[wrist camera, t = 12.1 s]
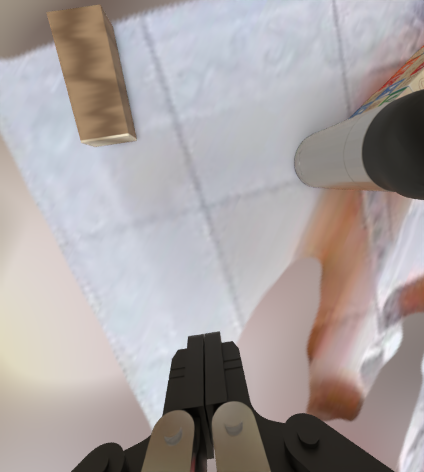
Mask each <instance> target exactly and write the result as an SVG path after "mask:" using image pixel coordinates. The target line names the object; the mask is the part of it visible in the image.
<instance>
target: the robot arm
mask: <svg viewBox="0 0 424 472" xmlns="http://www.w3.org/2000/svg"><path fill="white" fill-rule="evenodd" d="M295 170H296V173H297V175H298V177H299V178H300V180H301V181H302V182H304V183H305V184H307V185H308V186H311V187H318V188H332V189H349V190H367V191H386V192H397V193H398V194H400V195H402V196H405V197H408V198H413V199H419V200H424V89H422V90H419V91H415V92H412V93H410V94H408V95H405V96H403V97H400V98H398V99H396V100H393V101H391V102H388V103H386V104H384V105H381V106H379V107H377V108H374V109H372V110H370V111H367V112H365V113H362V114H360V115H358V116H355V117H353V118H350V119H348V120H346V121H343V122H341V123H339V124H336V125H334V126H331V127H329V128H326V129H324V130H322V131H319V132H317V133H314V134H312V135H310V136H309V137H307V138H306V139H305V140H304V141H303V142H302V143H301V145H300V146H299V148H298V150H297V152H296V155H295ZM213 445H214V446H213ZM214 450H215V459H216V468H217V472H394V471H393V470H391V469H390V468H389V467H387V466H386V465H384V464H383V463H381V462H380V461H379V460H377V459H376V458H374V457H373V456H371V455H370V454H369V453H367V452H365V451H364V450H363V449H361V448H360V447H359V446H357V445H355V444H354V443H353V442H351V441H350V440H349V439H347V438H346V437H344V436H343V435H341V434H340V433H338V432H337V431H336V430H334V429H333V428H331V427H330V426H328V425H327V424H326V423H324V422H323V421H321V420H320V419H318V418H317V417H315V416H313V415H310V414H305V413H300V414H295V415H293V416H291V417H290V418H289V419H288V420H287V421H286V423H280V422H275V421H271V420H268V419H265V418H264V417H262V416H260V415H259V414H258V413H257V412H256V411H255V410H254V408H253V407H252V405H251V402H250V398H249V394H248V389H247V384H246V380H245V375H244V371H243V366H242V361H241V357H240V352H239V348H238V347H237V346H236V345H235V344H234V342H233V341H231V342H224V343H222V342H221V336H220V331H219V332H212V333H206V334H205V337H204V334H200V335H194V336H188V343H187V349H180V350H178V351H177V352H176V354H175V355H174V357H173V358H172V363H171V368H170V374H169V380H168V386H167V392H166V398H165V404H164V410H163V415H162V417H161V418H160V419H159V420H158V422H157V423H156V424H155V426H154V428H153V430H152V433H151V435H150V436H149V437H148V438H147V439H145V440H143V441H142V442H140V443H138V444H136V445H134V446H132V447H130V448H128V449H126V450H125V451H123V449H122V447H121V446H120V445H119V444H117V443H106V444H103V445H100V446H99V447H97V448H95V449H94V450H93V451H91V452H90V453H89V454H88V455H87V456H86V457H85V458H84V459H83V460H82V461H81V462H80V463H79V464H78V465H77V466H76V467H75V468H74V469H73V470H72V471H71V472H207V459H212V458H214Z"/></svg>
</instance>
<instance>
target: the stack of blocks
mask: <svg viewBox="0 0 424 472" xmlns="http://www.w3.org/2000/svg"><path fill="white" fill-rule="evenodd" d="M422 89H424V46H423V47H422V48H421V49H420V50H419V51H417V52H416V53H415V54H414V55H413V56H412V57H411V58H410V59H409V60H408V61H407V62H406V63H405V65H404V66H403V67H402V68H401V69H400V70H399V71H398V72H397V73H396V74H395V75H394V76H393V77H392V78H391V79H390V80H389V81H388V82H387V83H386V84H385V85H384V86H383V87H382V88H381V89H380V90H379V91H378V92H376V93H375V94H374V95H372V96H371V97H370V98H369V99H368V100H367V101H366V102H365V103H364V104H363V105H362V106H361V108H359V109H358V110H357V111H356V112H355V113H354V114H353V115H352V116H351V117H350V118H353V117H355V116H358V115H360V114H362V113H365V112H367V111H370V110H372V109H374V108H377V107H379V106H381V105H384V104H386V103H388V102H391V101H393V100H396V99H398V98H400V97H403V96H405V95H408V94H410V93H412V92H415V91H419V90H422ZM350 118H349V119H350Z"/></svg>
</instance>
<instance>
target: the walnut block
mask: <svg viewBox="0 0 424 472" xmlns="http://www.w3.org/2000/svg"><path fill="white" fill-rule="evenodd" d="M47 15H48V20H49V23H50V27H51V30H52V35H53V38H54V42H55V46H56V50H57V53H58V57H59V61H60V65H61V68H62V72H63V76H64V80H65V83H66V87H67V91H68V95H69V98H70V102H71V106H72V110H73V114H74V117H75V121H76V125H77V129H78V132H79V136H80V140H81V143H84V144H87V145H90V146H93V147H99V146H105V145H112V144H118V143H125V142H132V141H137V138H136V134H135V129H134V124H133V120H132V115H131V110H130V105H129V101H128V96H127V91H126V86H125V82H124V77H123V72H122V68H121V63H120V58H119V53H118V49H117V44H116V39H115V34H114V30H113V26H112V24H111V23H110V21H109V19H108V17H107V16H106V14H105V12H104V10H103V9H102V7H101V5H94V6H87V7H81V8H73V9H67V10H60V11H53V12H47Z"/></svg>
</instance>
